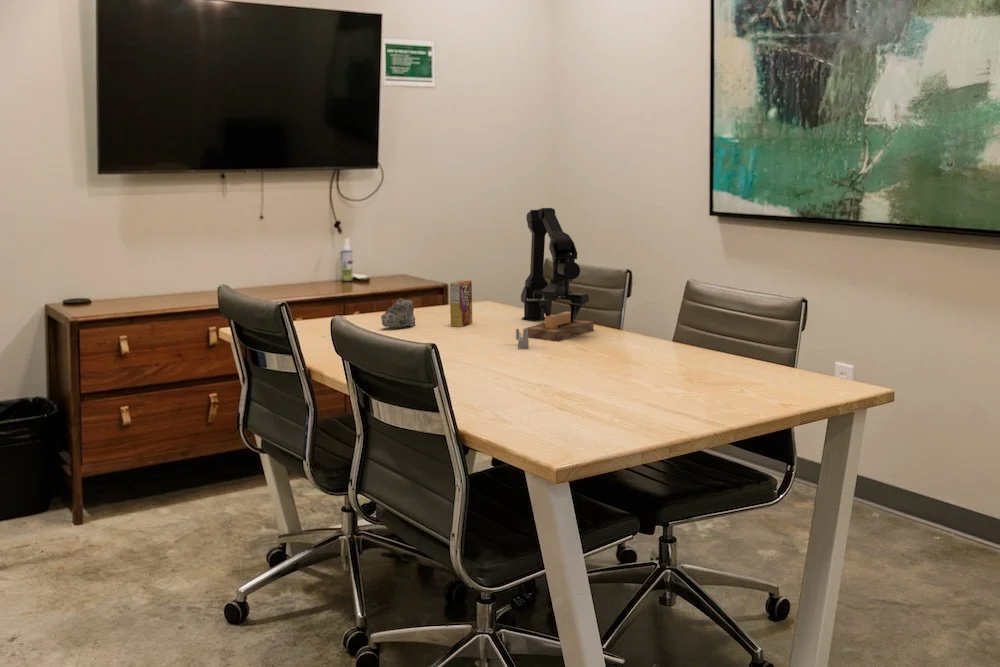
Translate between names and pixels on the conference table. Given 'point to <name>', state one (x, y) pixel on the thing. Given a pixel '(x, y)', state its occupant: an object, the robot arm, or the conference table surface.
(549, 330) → the wooden board with recesses
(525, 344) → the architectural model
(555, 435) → the conference table surface
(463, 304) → the candy box
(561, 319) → the orange brown flat block
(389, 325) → the mineral rock
